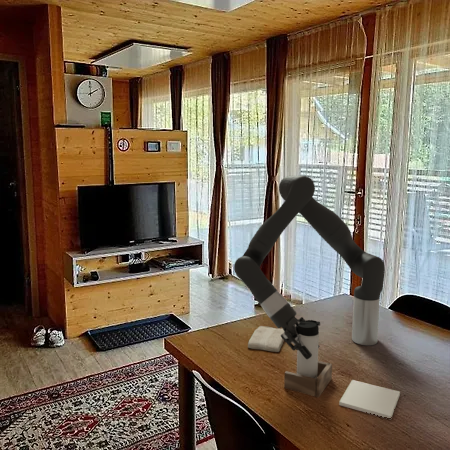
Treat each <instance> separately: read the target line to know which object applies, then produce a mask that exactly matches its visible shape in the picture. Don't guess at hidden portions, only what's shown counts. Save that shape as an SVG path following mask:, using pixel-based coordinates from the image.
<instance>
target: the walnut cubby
mask: <svg viewBox="0 0 450 450" xmlns="http://www.w3.org/2000/svg"><path fill="white" fill-rule="evenodd" d="M332 372H333V364H332V363H331V362H324V361H321V360H318V373H317V379H315V378H311V377H307V376H303V375H300V374H297V372H291V371H288V370H285V372H284V379H283V380H284V381H283V382H284V383H283V384H284V385H283V386H284V389H285V390H291V391H294V392H296V393H297V392H298V393H301V394H304V395H308V396H312V397H316V398H320V397H321V395H322V394H323V392H324V390H326V388H327V386H328V384H329V383H330V382H331V380H332Z"/></svg>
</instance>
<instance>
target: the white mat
mask: <svg viewBox="0 0 450 450" xmlns="http://www.w3.org/2000/svg"><path fill="white" fill-rule="evenodd" d="M400 395H401V391H399V390H396V389H395V390H394V389H391V388H387V387H383V386H378V385H375V384H371V383H366V382H363V381H360V380H359V381H358V380H355V379H351V381H350V383H349V384H348V386H347V388H346V390H345V391H344V393H343V395H342V397H341V398H340V399H339V403H338V405H339V406H341V407H345V408H348V409H349V408H350V409H352V410H356V411H360V412H363V413H366V412H367V413H366V414H370V413H371V414H370V415H373V414H375V415H374V416H377V415H378V416H377V417H380V416H382V417H381V418H384V417H387V418H391V417H392V418H393V415H394V412H395V410H394V409H396V406H397V404H398V402H399V401H398V400H399V398H400ZM387 418H386V419H387ZM392 418H391V419H392Z"/></svg>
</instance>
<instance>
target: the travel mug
mask: <svg viewBox="0 0 450 450" xmlns="http://www.w3.org/2000/svg"><path fill="white" fill-rule="evenodd" d="M304 320H305V321H301V322H300V323H299V324H298V332H299V335H300V336H301V341H302V342H303V344H304V345H305V347H306V348H307V349H308V350H309V351H310V353H311V354H312V356H311V357H310V358H309V359H306V358H305V357H304V356H303V355H302V354H301V352H300V351H299V350H296V351H297V352H296V353H297V355H296V359H297V360H296V374H300V375H303V376H307V377H311V378H315V379H317V378H318V377H317V373H318V361H319V348H318V345H319V343H320V341H319V337H320V336H319V331H320V330H319V329H320V328H319V327H320V326H321V322H320V321H318V320H314V319H304ZM298 343H299V342H298Z"/></svg>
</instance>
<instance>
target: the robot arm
mask: <svg viewBox="0 0 450 450" xmlns="http://www.w3.org/2000/svg"><path fill="white" fill-rule="evenodd" d="M278 191H279V195H280V197H281V198H282V200H284V201H283V203H282V204H281V205H280V207H279V208H278V209H277V210H276V211H275V212H274V213H273V214H271V216H270V217H269V218H267V219H266V220H265V221H264V222H263V223H262V224H261V225H260V226H259V228H258V229H257V231H256V232H255V234H254V235H253V237H252V238H251V240H250V242H249V243H248V246H247V249H246V250H245V252H244V253H243V255H242V256H240V257H238V258H237V259H236V260H235V262H234V265H233V269H234V273H235V275H236V277H237V278H238V279H240V280H241V281H242V282H243V284H245V286H246V287H247V288H248V289H249V291H250V293H251V295H252V296H253V298H255V300H256V301H257V303H258V304H259V305H260V306H261V308H262V309H263V311H264V312H265V314H266V315H267V316H268V318H270V320H271V321H272V323H273V324H274V325H275V326H276V329H283V330H284V333H283V334H281V337H282V339H283V340H284V342H285V343H286V344H287V345H288V346H289V348H290V349H291V350H292V351H297V350H299V351H300V352H301V354H302V355H303V356H304V357H305V358H306V359H309V358H310V357H311V356H312V354H311V353H310V351H309V350H308V349H307V348H306V347H305V345H304V344H303V342H302V341H301V336H300V335H299V332H298V324H299V323H300V322H301V321H305V320H306V319H304V317H303V316H300V317H299V318H297V317H296V316H297V311H296V310H295V309H294V308H293V307H292V305H291V304H290V303H289V302H288V300H287V299H286V298H285V297H284V296H283V294H281V292H279V291H278V290H277V288H276V287H275V286H274V284H273V283H272V282H271V281H270V280H269V279H268V277H267V276H266V275H265V274H264V272H263V271H262V270H261V269H262V268H261V266H262V264H263V262H264V260H265V258H266V256H268V254H269V253H270V252H271V250H272V249H273V247H274V246H275V244H276V242H277V241H278V239H279V238H280V236H281V235H282V233H284V231H285V230H286V228H287V227H288V226H289V225H290V224H291V222H292V221H293V220H294V219H295V218H296V216H297V215H299V214H300V215H301V216H302V218H303V219H304V220H306V222H308V224H309V226H311V227H312V228H313V229H314V230H315V231H316V233H317V234H318V235H319V236H320V237H321V238H322V239H323V240H324V242H326V244H328V245H329V246H330V247H331V249H333V250H334V252H336V253H337V254H338V255H339V256H341V258H342V260H343V261H344V262H345V264H346V265H347V266H348V267H349V269H350V270H351V272H352V273H353V274H355V276H357V277H359V278H362V279H361V285H359V286H356V287H355V288H354V289H353V303H352V304H353V306H352V307H353V308H352V327H351V330H352V331H351V339H352V340H351V341H353V342H354V343H356V344H358V345H362V346H374V345H377V343H378V337H379V336H378V335H379V320H380V302H381V299H380V298H381V294H382V292H383V289H384V281H385V273H386V271H385V269H386V267H385V263H384V260H383V259H382V258H381V257H380V256H377V255H374V254H371V253H368V252H366V251H365V250H363V249H362V248H361V247H360V246H359V245H358V244H357V243H356V242H355V240H354V239H353V236H352V233H351V229H350V228H349V226H348V225H347V224H346V223H345V222H344V220H343V219H342V218H341V217H340V216H339V215H338V214H337V213H336V212H334V211H333V210H331V209H330V208H328V207H327V206H325V205H323V204H321V203H320V202H319V201H317V200H316V199H315V198H314V197H313V196H314V195H315V191H316V185H315V183H314V180H313V179H312V178H311V177H309V176H306V175H288V176H286V177H285V176H284V177H283V178H282V179H281V180H280V182H279V184H278ZM298 342H299V343H298ZM318 349H320V345H319V344H318Z"/></svg>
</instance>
